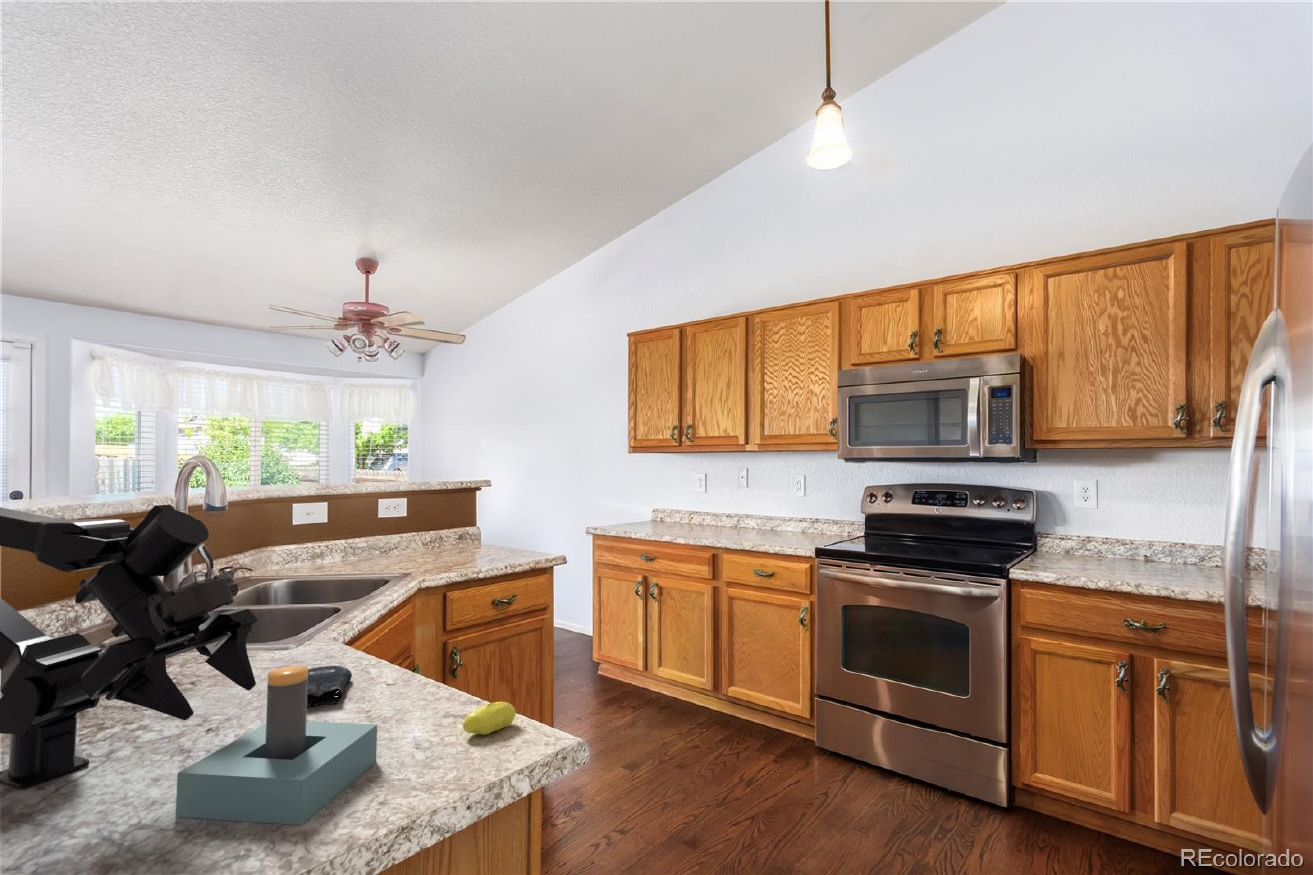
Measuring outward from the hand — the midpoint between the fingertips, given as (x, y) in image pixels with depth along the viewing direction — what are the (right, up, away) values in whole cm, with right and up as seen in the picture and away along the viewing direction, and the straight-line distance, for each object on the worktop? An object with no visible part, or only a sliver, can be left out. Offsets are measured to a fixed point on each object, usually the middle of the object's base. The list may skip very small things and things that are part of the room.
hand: (223, 701), depth 73 cm
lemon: (+27, -10, +14) cm, 32 cm away
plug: (+8, -9, -1) cm, 12 cm away
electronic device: (-5, -11, +29) cm, 31 cm away
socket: (+8, -9, -1) cm, 12 cm away
